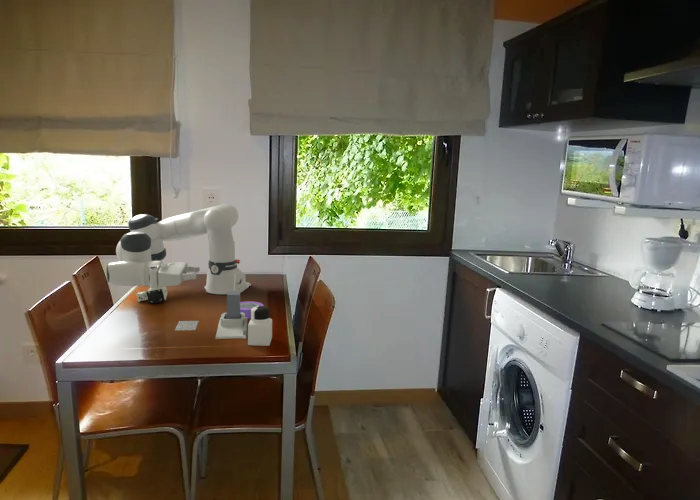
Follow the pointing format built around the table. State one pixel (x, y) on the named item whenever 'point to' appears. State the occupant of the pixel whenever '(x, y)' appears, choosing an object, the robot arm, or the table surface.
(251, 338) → the medicine bottle
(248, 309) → the masking tape
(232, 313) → the clip
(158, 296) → the pneumatic valve
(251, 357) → the table surface
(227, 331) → the holder
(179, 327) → the grey rectangular plate
